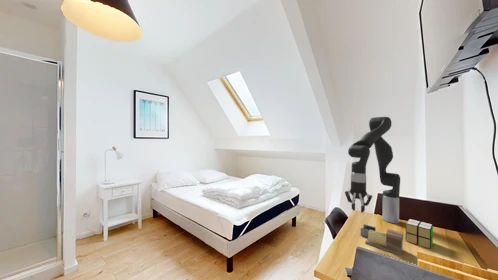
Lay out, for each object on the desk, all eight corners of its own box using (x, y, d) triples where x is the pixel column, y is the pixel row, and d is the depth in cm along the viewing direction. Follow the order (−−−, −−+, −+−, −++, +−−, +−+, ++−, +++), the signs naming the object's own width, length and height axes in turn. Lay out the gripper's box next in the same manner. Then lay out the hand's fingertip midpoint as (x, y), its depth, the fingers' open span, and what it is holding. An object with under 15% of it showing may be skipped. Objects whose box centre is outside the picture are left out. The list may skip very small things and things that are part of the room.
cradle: (363, 230, 115) (364, 224, 115) (375, 234, 111) (375, 227, 111) (360, 235, 109) (360, 228, 109) (372, 239, 105) (372, 232, 105)
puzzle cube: (408, 235, 110) (409, 218, 110) (432, 242, 103) (432, 224, 103) (405, 241, 104) (405, 223, 104) (430, 249, 96) (430, 229, 96)
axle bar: (369, 238, 103) (369, 229, 103) (402, 248, 94) (402, 238, 94) (368, 241, 100) (368, 231, 101) (401, 252, 91) (401, 241, 91)
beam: (368, 238, 105) (368, 223, 105) (402, 249, 95) (402, 232, 95) (365, 243, 100) (365, 227, 100) (401, 255, 90) (401, 237, 90)
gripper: (374, 181, 104) (374, 212, 104) (346, 178, 114) (346, 206, 113) (371, 183, 99) (371, 216, 98) (342, 179, 108) (342, 209, 108)
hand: (357, 211), depth 106 cm, fingers open, 3 cm apart
